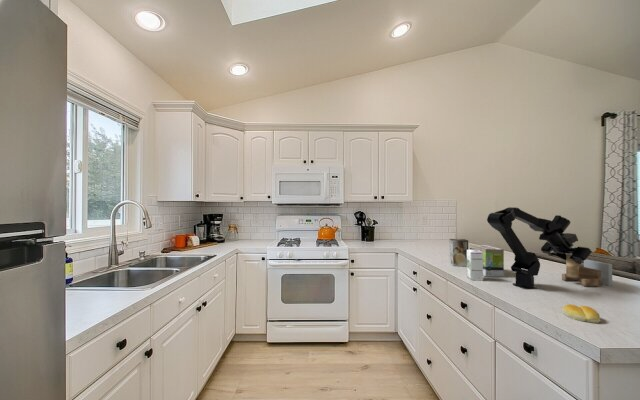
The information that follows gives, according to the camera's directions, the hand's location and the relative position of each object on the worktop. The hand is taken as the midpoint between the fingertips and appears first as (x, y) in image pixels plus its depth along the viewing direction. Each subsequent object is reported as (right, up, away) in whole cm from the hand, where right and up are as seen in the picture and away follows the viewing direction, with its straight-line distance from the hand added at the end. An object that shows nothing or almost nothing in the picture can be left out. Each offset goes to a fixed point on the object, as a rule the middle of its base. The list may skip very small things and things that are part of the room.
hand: (575, 262), depth 122 cm
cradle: (+2, -10, 0) cm, 10 cm away
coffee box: (-37, -11, +35) cm, 52 cm away
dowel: (-1, -7, 0) cm, 7 cm away
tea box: (-31, -11, +18) cm, 38 cm away
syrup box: (-44, -10, +7) cm, 46 cm away
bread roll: (-34, -10, -36) cm, 51 cm away
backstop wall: (+13, -10, +2) cm, 16 cm away
